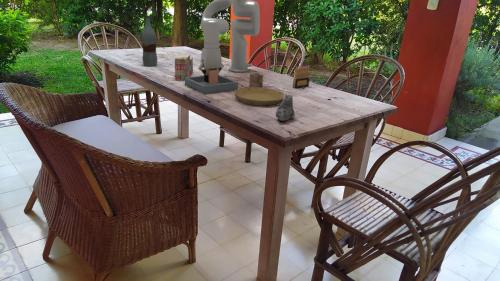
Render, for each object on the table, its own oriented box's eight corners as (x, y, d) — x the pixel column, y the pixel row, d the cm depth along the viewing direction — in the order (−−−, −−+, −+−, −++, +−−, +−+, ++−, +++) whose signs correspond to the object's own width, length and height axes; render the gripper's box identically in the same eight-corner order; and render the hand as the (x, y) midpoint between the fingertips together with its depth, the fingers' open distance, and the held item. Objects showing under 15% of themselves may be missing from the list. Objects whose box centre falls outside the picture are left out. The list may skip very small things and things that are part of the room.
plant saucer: (255, 90, 194) (255, 84, 193) (293, 100, 180) (294, 94, 179) (223, 98, 176) (223, 92, 175) (263, 111, 163) (263, 103, 161)
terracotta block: (212, 81, 196) (212, 67, 193) (217, 83, 193) (218, 69, 190) (204, 82, 193) (204, 68, 191) (209, 84, 190) (209, 70, 187)
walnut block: (256, 85, 203) (257, 72, 200) (262, 87, 199) (263, 74, 196) (249, 86, 200) (249, 73, 197) (255, 88, 196) (255, 75, 193)
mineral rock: (280, 124, 147) (282, 100, 143) (262, 117, 154) (264, 93, 151) (302, 119, 155) (305, 95, 151) (284, 112, 162) (286, 89, 158)
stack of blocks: (182, 72, 224) (182, 51, 219) (193, 72, 224) (192, 52, 219) (175, 80, 204) (174, 57, 200) (186, 81, 204) (186, 58, 199)
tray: (216, 81, 207) (216, 74, 205) (237, 89, 192) (238, 82, 191) (184, 85, 195) (184, 77, 194) (204, 94, 181) (204, 86, 179)
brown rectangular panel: (294, 88, 201) (297, 66, 196) (292, 87, 202) (294, 65, 198) (308, 86, 207) (311, 65, 202) (306, 85, 208) (308, 64, 204)
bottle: (140, 64, 236) (137, 15, 224) (153, 63, 242) (150, 15, 230) (147, 67, 230) (144, 16, 218) (160, 66, 235) (158, 16, 224)
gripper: (221, 43, 193) (220, 78, 200) (192, 45, 183) (193, 81, 190) (229, 46, 188) (228, 81, 195) (200, 47, 178) (200, 84, 185)
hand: (211, 81), depth 193 cm, fingers closed on terracotta block, 5 cm apart
